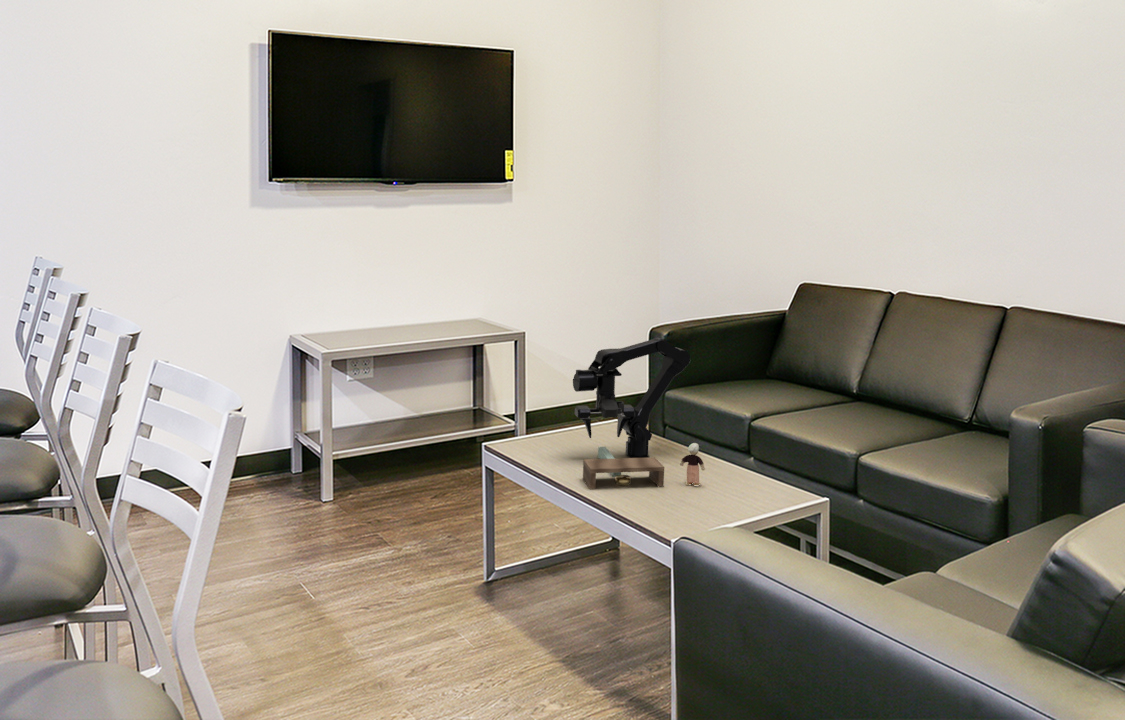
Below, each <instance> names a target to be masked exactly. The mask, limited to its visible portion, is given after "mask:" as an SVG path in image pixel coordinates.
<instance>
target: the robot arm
mask: <svg viewBox="0 0 1125 720" xmlns="http://www.w3.org/2000/svg"><path fill="white" fill-rule="evenodd" d="M656 353H658V354H660V355H662V356H663V359H662V364H661V369H660V371H659V372H658V374H657V375H656V376H655V378H654V379H653V380H652V383H651V385H649V387H648V389H647V390H646V392H645V393H644V395H643V397H642V398H641V399H640V400H639V402H638V404H637V405H636V406H632V405H631V404H625V401H622V400H621V401H617V400H616V393H615V392H616V391H615V389H616V384H615V383H616V377H622V373H621V372H620V371H619V370H618V368H619V367H621V366H623V365H624V364H625V363H626V362H629V361H631V360H635V359H638V358H642V357H645V356H648V355H651V354H656ZM690 363H691V355H690V353H689V351H687V350H684V349H682V348H679V347H675V346H673V345H672V344H670V343H668V342H667V341H666V340H665V339H663V338H661V337H660V338H659V337H654V338H652V339H649V340H645V341H642V342H638V343H635V344H631V345H628V346H625V347H620V348H619V347H618V348H605V349H600V350H598V351H597V352H596V354H595V358H594V359H593V361H592V363H591V364H590V365H589V366H588V368H587V369H576V370H575V374H574V375H573V379H572V388H573V390H574V391H575V392H576V393H577V392H588V391H590V392H591V391H595V390H596V391H595V393H596V394H595V395H596V401H595V402H596V403H595V408H594V407H593V408H590V407H589V406H588V405H576V406H575V407H574V415H575V416H576V417H577V419H580V420H581V421H583V423H584V425H585V428H586V432H587V435H588V438H589V439H592V422H591V421H592V418H591V417H590V416H591V415H602V417H603V419H609V418H614V419H616V418H617V424H616V425H617V427H616V429H617V430H616V437H617V438H620V436H621V433H622V431H625V434H626V435H627V441H625V454H626V455H627V458H651V456H650V455H649V443H650V441H651V439H652V437H653V433H651V432H650V430H649V429H648V428H647V427H648V425H649V420H650V415H651V413H652V411H653V409H654V408H655V406H656V404H658V401H659V400H660V399H661V397H662V396H663V395H664V393H665V391H666V390H667V388H668V386H669V385H670V383H671V382H672V381H673V379H674V378H675V377H676V376H677V375H679V374H681V373H682V372H683V371H684V370H685V369H686V368H687V367H688V366H689V365H690Z"/></svg>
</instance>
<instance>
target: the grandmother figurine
mask: <svg viewBox="0 0 1125 720" xmlns="http://www.w3.org/2000/svg"><path fill="white" fill-rule="evenodd" d="M699 446H700V445H699V444H698V443H696V442H693V443H691V444H690V445H689V446H688V448H687V451H688V452H689V454H687V455H685V456H683V458H682V459H681V461H680V463H679V465H680V466H681V467H683V466H684V464H685V463H687V467H686V483H687V484H692V483H693V485H699V484H701V485H702V483H701V482H700V469H701V471H705V470H706V468H705V465H704V462H703V460H702V458H701V456H698V453H699V450H700V447H699ZM699 466H700V467H699Z"/></svg>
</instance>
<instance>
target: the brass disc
mask: <svg viewBox="0 0 1125 720" xmlns="http://www.w3.org/2000/svg"><path fill="white" fill-rule="evenodd" d="M614 480H615V481H614V482H615V485H618V486H629V485H630V484H631V476H630V475H627V474H621V475H617V476H615V477H614ZM628 484H629V485H628Z"/></svg>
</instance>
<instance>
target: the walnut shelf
mask: <svg viewBox="0 0 1125 720" xmlns="http://www.w3.org/2000/svg"><path fill="white" fill-rule="evenodd" d="M582 462H583V463H582V465H583V466H582V480H583V481H584V483H585V482H586V483H585V484H586V485H587V487H588V488H589V490H596V479H597V478H596V476H597V474H607V473H608V474H611V473H616V472H621V473H640V472H647V473H648V477H649V478H650V480H651V481H652V482H653V481H654V482H655V483H656V484H657V485H658V486H663V487H664V482H665V481H664V479H665V466H664V465H663V464H662V463H661V462H660V461H659V460H658V459H657V458H656V457H653V456H652V457H651V456H650V458H629V457H624V458H615V459H599V458H592V459H591V458H587V459H585V458H584V459H583V461H582ZM654 482H653V483H654ZM655 483H654V484H655ZM656 484H655V485H656ZM657 485H656V486H657ZM658 486H657V487H658Z"/></svg>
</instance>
